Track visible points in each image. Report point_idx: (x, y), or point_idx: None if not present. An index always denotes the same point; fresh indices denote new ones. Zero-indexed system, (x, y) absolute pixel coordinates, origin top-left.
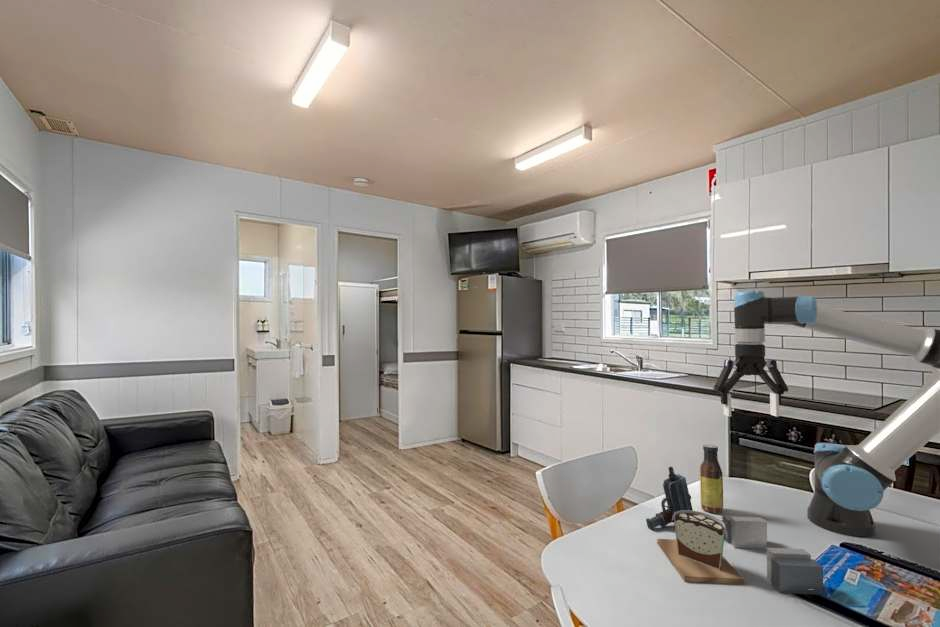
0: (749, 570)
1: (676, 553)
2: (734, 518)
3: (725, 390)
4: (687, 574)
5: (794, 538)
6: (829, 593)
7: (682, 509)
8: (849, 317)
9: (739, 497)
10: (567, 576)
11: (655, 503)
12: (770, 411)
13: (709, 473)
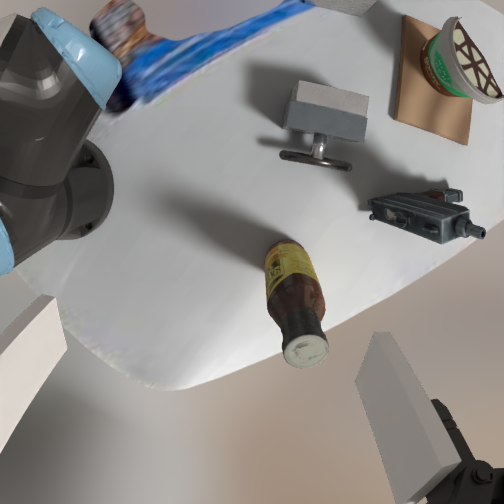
0: (373, 39)
1: (462, 97)
2: (362, 106)
3: (490, 482)
4: None
5: (199, 126)
6: None
7: (410, 200)
8: None
9: (182, 313)
10: None
11: (379, 295)
12: (57, 359)
13: (316, 286)
